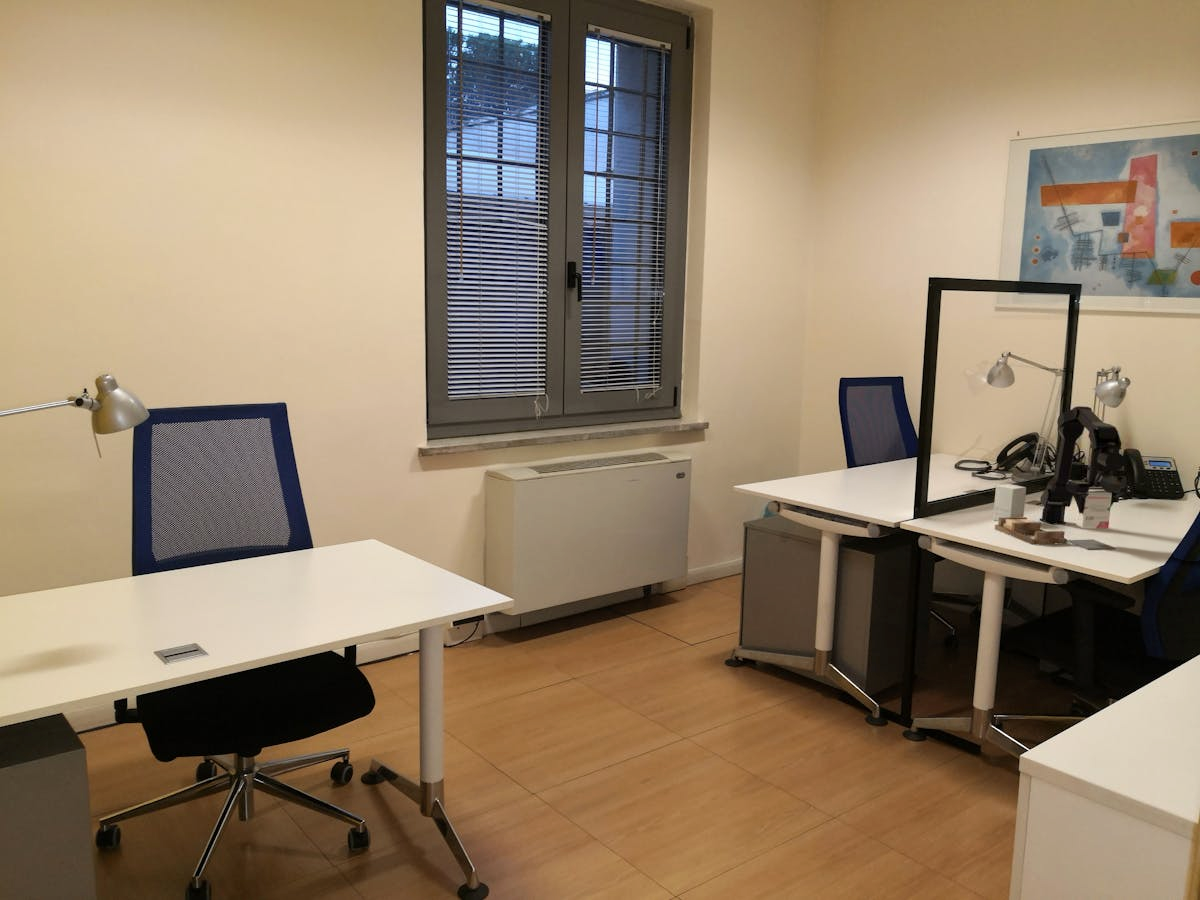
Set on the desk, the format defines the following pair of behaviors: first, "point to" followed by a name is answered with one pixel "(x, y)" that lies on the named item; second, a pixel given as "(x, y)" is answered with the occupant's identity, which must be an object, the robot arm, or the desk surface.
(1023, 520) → the walnut rack
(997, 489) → the supplement box
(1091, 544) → the dark grey mat
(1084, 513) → the ink box
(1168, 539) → the desk surface
